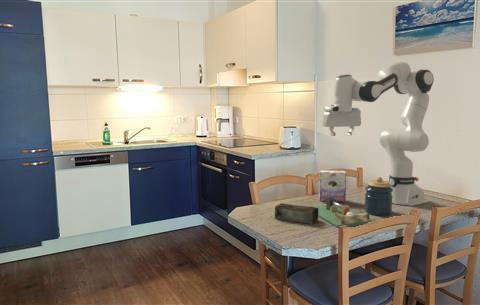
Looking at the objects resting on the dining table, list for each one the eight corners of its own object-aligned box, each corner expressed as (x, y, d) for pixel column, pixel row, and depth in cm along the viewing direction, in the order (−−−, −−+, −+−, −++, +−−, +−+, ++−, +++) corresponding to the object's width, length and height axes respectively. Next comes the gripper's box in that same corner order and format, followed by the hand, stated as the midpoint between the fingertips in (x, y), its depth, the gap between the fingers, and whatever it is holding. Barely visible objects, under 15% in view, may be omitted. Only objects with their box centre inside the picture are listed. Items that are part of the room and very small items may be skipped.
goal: (361, 217, 186) (361, 210, 185) (369, 221, 180) (369, 213, 180) (334, 220, 181) (335, 212, 181) (342, 224, 176) (342, 216, 175)
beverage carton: (280, 214, 194) (281, 201, 193) (319, 220, 185) (319, 206, 184) (274, 218, 187) (274, 205, 186) (313, 225, 178) (314, 211, 177)
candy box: (344, 199, 221) (345, 170, 218) (345, 202, 215) (346, 172, 213) (319, 198, 223) (320, 169, 221) (319, 201, 217) (320, 171, 215)
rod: (324, 207, 200) (325, 197, 199) (330, 206, 201) (330, 197, 200) (343, 217, 184) (344, 206, 183) (349, 216, 185) (349, 206, 184)
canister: (366, 215, 192) (368, 179, 190) (362, 207, 205) (363, 174, 202) (394, 216, 190) (396, 180, 188) (388, 209, 203) (390, 175, 201)
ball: (354, 211, 181) (356, 219, 180) (350, 212, 185) (352, 219, 184) (348, 211, 180) (349, 219, 179) (343, 212, 183) (345, 220, 183)
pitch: (338, 205, 209) (339, 200, 208) (375, 223, 181) (375, 216, 180) (304, 208, 203) (304, 203, 202) (336, 227, 174) (336, 220, 174)
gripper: (356, 107, 204) (355, 134, 206) (321, 107, 198) (320, 135, 200) (364, 107, 198) (363, 135, 200) (328, 108, 192) (327, 136, 194)
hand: (341, 135), depth 200 cm, fingers open, 8 cm apart
